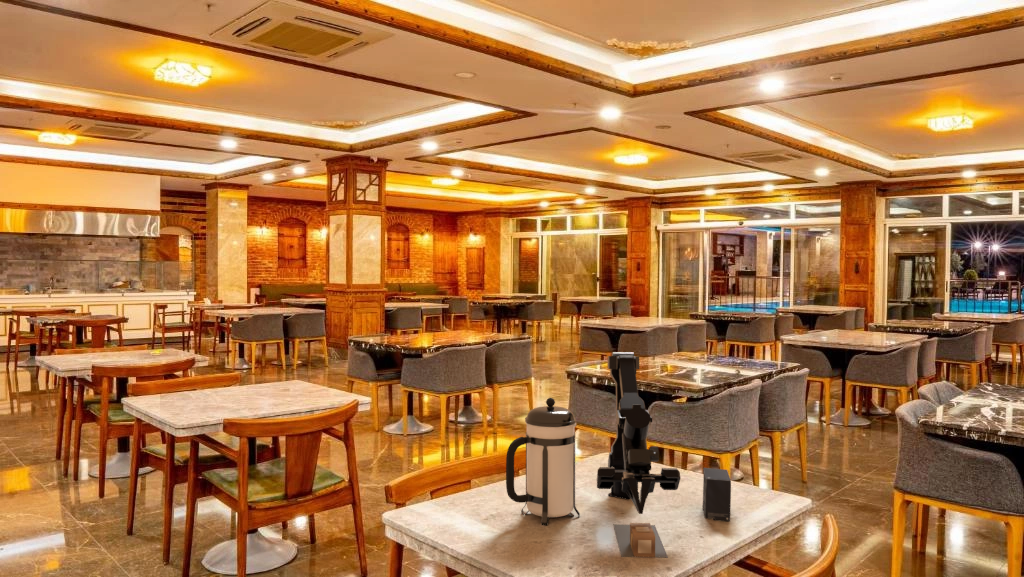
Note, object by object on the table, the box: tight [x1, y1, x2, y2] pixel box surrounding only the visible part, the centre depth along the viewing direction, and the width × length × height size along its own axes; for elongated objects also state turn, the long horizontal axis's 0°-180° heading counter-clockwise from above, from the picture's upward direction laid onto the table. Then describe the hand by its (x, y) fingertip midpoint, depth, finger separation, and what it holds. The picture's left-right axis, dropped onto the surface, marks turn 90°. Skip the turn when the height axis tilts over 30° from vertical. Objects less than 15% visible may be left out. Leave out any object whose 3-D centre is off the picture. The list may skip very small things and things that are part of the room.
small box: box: [701, 467, 732, 522], centre depth 181 cm, size 11×6×10 cm, turn 168°
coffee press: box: [505, 397, 581, 527], centre depth 178 cm, size 17×16×30 cm
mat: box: [613, 523, 669, 559], centre depth 162 cm, size 20×10×1 cm, turn 177°
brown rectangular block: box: [629, 522, 655, 558], centre depth 156 cm, size 5×5×8 cm
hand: (640, 513), depth 159 cm, fingers closed
